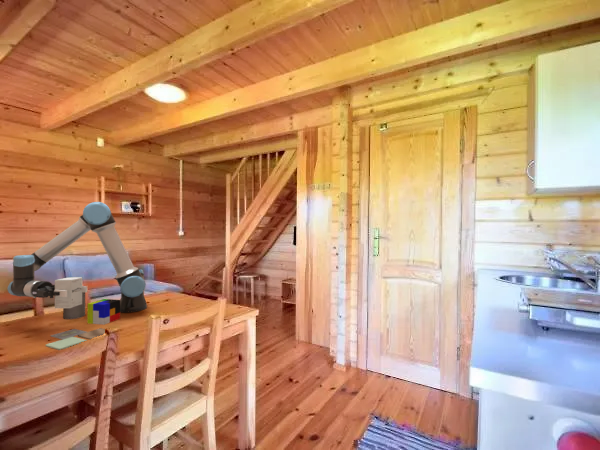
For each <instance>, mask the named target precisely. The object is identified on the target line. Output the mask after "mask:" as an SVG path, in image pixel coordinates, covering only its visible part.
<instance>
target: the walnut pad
mask: <svg viewBox="0 0 600 450" xmlns="http://www.w3.org/2000/svg"><path fill="white" fill-rule="evenodd" d="M105 329H106V328H102V327H101V328H97V329H92V330H90V331H86V333H83V334H79V335H77V338H81V339H85V340H90V339H92V338H94V337H97V336H100V335H103V334H104V333H105Z"/></svg>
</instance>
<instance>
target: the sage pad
mask: <svg viewBox="0 0 600 450" xmlns="http://www.w3.org/2000/svg"><path fill="white" fill-rule="evenodd" d="M87 340H88V339H85V338H81V337H76V336H73V337H69V338H66V339H63V340H62V339H59V340H56V341H53V342H51V343H50V342H49V343H46V344H45V347H47V348H50V349H54V350H57V351H62V350H65V349H69V348H70V346H71V347H74V346H77V345H80V344H82V343H81V342H84V341H87ZM79 343H80V344H79ZM84 343H85V342H84ZM76 344H77V345H76ZM73 345H74V346H73ZM61 349H62V350H61Z"/></svg>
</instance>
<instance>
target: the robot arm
mask: <svg viewBox="0 0 600 450" xmlns="http://www.w3.org/2000/svg"><path fill="white" fill-rule="evenodd" d="M116 224H117V222H116V220H115V218H114V216H113V214H112V211H111V209H110V207H109V206H108V205H107V204H106V203H104V202H101V201H93V202H90V203H88V204H87V205H86V206H84V209H83V210H82V214H81V215H80V216H79V218H78V220H77V221H76V222H74V223H72V224H71V225H70V226H69V227H67V228H66V229H65V230H63V231H62V232H60V233H59V234H58V235H56V236H55V237H53V238H52V239H50V240H49V241H48V242H46V243H45V244H44V245H43V246H41V247H39V248H38V249H37V250H35V251H34V252H33V253H32V254H31V253H30V254H21V255H15V256H13V261H12V275H13V278H12V280H11V282H9V284H8V286H7V293H9V294H10V295H11V296H17V297H28V298H33V299H36V298H40V299H41V298H42V299H44V298H49V299H53V298H54V297H55V296H57V297H67V290H55V284H53V283H52V282H50V281H46V280H35V272H36V271H38V270H39V269H41V268H42V267H43V266H44V265H45V264H47V263H48V262H49V261H51V260H52V259H54V258H55V257H56V256H57V255H59V254H60V253H61V252H63V251H64V250H65V249H67V248H68V247H69V246H71V245H72V244H74V243H75V242H77V240H79V239H80V238H82V237H83V236H84V235H86V234H87V233H88V232H90V231H91V232H92V233H96V234H97V237H98V238H99V241H100V243H101V245H102V246H103V248H104V250H105V252H106V254H107V257H108V259H109V260H110V262H111V264H112V266H113V268H114V270H115V272H116V276H115V280H116V282H117V284H118V285H119V287H120V288H119V289H120V299H119V300H120V313H134V312H140V311H143V310H146V309H147V308H148V304H147V301H146V298H145V296H144V293H145V289H146V286H147V285H146V281H145V278H144V277H145V273H144V270H143V269H139V267H136V266H134V264H133V262H132V260H131V258H130V256H129V253H128V252H127V250H126V248H125V246H124V244H123V242H122V240H121V237H120V235H119V233H118V231H117V230H116V227H115V226H116ZM82 292H85V293H88V285H87V286H86V285H82Z"/></svg>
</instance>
